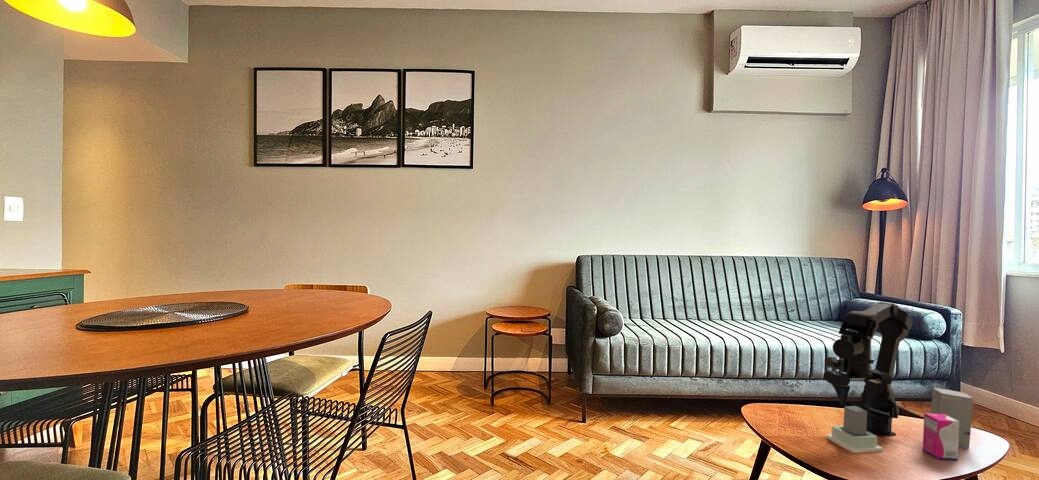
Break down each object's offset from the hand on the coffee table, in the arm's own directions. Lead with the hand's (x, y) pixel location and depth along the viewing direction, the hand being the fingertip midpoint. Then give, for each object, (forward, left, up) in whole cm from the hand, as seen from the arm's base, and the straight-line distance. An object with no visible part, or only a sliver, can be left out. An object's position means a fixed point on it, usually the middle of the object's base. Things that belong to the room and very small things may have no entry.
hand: (855, 405), depth 145 cm
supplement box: (-20, +9, -12) cm, 25 cm away
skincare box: (-32, +2, -12) cm, 35 cm away
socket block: (0, 0, -12) cm, 12 cm away
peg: (0, 0, -11) cm, 11 cm away
